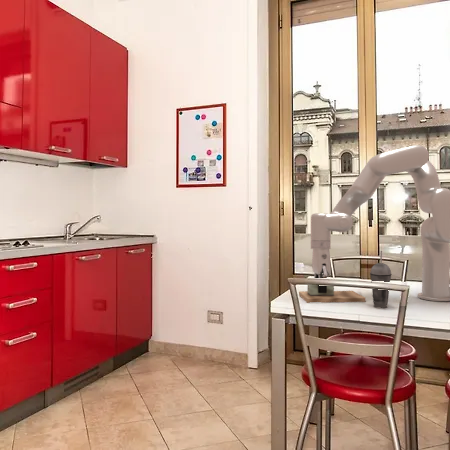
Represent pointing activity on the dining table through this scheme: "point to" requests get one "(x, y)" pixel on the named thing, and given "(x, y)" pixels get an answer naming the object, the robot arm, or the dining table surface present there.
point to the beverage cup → (380, 274)
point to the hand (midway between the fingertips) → (320, 291)
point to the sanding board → (334, 297)
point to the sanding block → (314, 292)
